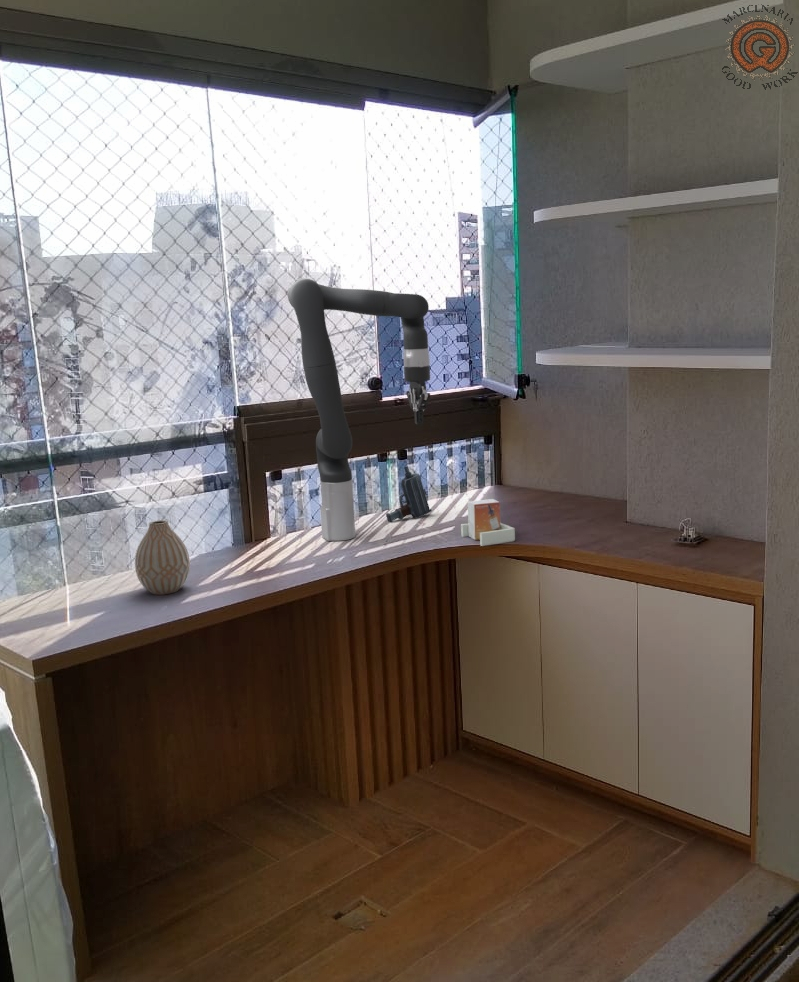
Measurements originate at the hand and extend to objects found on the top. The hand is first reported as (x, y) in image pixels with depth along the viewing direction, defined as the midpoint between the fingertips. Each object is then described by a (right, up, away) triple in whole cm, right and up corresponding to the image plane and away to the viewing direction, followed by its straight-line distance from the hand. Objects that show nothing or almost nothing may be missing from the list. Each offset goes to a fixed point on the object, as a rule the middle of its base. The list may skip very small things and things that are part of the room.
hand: (419, 423), depth 279 cm
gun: (-3, -29, +22) cm, 37 cm away
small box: (+19, -33, -6) cm, 39 cm away
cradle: (+19, -33, -8) cm, 39 cm away
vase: (-64, -45, -44) cm, 90 cm away
